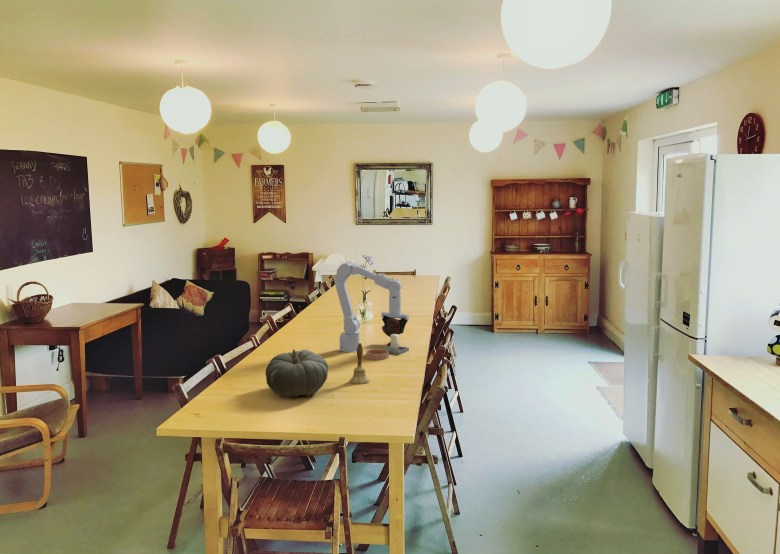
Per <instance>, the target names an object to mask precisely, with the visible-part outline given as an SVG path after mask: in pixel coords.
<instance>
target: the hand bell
mask: <svg viewBox="0 0 780 554" xmlns="http://www.w3.org/2000/svg"><path fill="white" fill-rule="evenodd" d="M363 351H364V348H363V344H362V343H360V342H359V344H358V347H357V352H356V356H357V365H356V367H354V369H353V375H352V377H351V378H350V379H349V383H350V384H353V385H363V384H367V383H368V384H369V382H370V379H369V377H368V376H367V374H366V368H364V367H363V366H362V358H363V355H364V352H363Z"/></svg>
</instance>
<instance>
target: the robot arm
mask: <svg viewBox="0 0 780 554" xmlns="http://www.w3.org/2000/svg"><path fill="white" fill-rule="evenodd" d="M351 275H352V276H354V275H355V276H356V275H360V276H361V277H365V278H366V279H369V280H373V282H374V284H375V285H377V286H379V287H381V288H383V289H385V290H388V291H389V292H388V293H389V297H388V312H386V311H384V312H381V320H382V321H383V324H385V327H386V331H387V332H389V331H390V321H391V318H395V319H398V320H399V325H400V334H399V335H402V334H403V333H404V332H405V327H406V324H407V323H408V321H409V318H410V316H409V314H404V313H402V306H401V304H402V296H401V294H402V292H401V290H402V283H401V281H400V280H398V279H394V277H392V278H391V277H390V276H387V275H386V274H385V273H384V272H383V273H381V272H380V273H375V272H373V271H370V270H369V269H367V268H366V267H363V266H361V265H359V264H357V263H353V262H352V261H346V262H344V263H342V264H340V265H339V267H338V268H337V269H336V273H335V277H334V281H333V282H334V286H335V289H336V293H337V296H338V300H339V303H340V307H341V308H340V309H341V311H342V314H343V324H344V325H343V330H344V332H341V333H340V336H339V349H338V351H339V352H348V353H353V354H356V353H357V347H358V344H359V343H360V331H359V328H360V327H361V323H360V321H359V320H358V318H357V316H356V314H355V313H354V309H353V306H352V303H351V298H350V295H349V291H348V288H347V285H346V282H347V280H348V279H349V277H350V276H351Z"/></svg>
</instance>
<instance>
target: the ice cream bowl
mask: <svg viewBox="0 0 780 554" xmlns="http://www.w3.org/2000/svg"><path fill="white" fill-rule="evenodd" d="M399 320H400V319H399V318H391V321H390V331H389V332H387V331H386V327H385V324H384V323H383V324H384V325H383V326H381V329H382V332H383V333H384V334H385V336H387V337H389V338H390V339H391V336H390V335H391V334H398V335H399V336H400V335H401V334H400V325H399ZM390 345H391V341H389V342H388V343H387V344H386V346H387V347H388V346H390Z"/></svg>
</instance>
